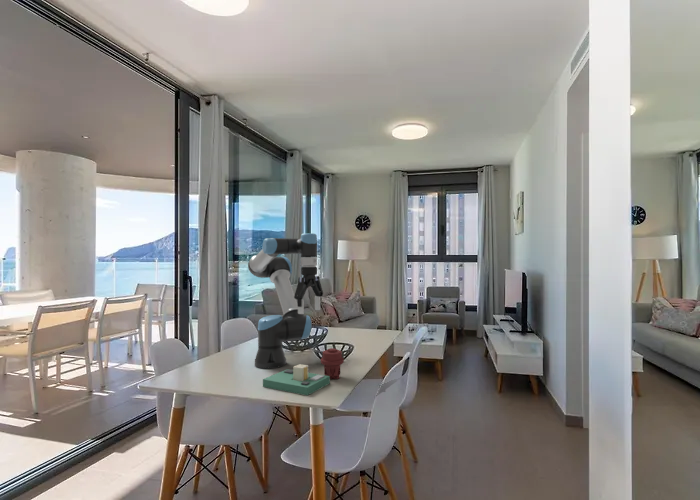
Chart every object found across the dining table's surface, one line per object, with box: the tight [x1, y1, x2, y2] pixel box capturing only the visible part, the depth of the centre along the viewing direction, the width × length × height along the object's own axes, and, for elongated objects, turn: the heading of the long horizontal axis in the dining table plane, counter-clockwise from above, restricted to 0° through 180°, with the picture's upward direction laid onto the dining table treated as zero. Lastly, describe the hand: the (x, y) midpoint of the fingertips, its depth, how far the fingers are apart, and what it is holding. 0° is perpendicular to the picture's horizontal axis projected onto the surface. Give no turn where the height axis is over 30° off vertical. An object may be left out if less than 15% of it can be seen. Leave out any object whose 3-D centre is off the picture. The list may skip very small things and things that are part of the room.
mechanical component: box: [320, 347, 345, 380], centre depth 172 cm, size 12×10×10 cm
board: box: [262, 368, 331, 396], centre depth 163 cm, size 22×16×4 cm
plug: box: [292, 363, 309, 381], centre depth 162 cm, size 5×4×8 cm
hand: (309, 311), depth 186 cm, fingers open, 13 cm apart
